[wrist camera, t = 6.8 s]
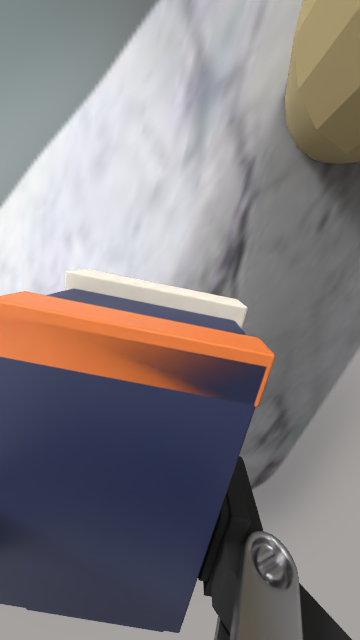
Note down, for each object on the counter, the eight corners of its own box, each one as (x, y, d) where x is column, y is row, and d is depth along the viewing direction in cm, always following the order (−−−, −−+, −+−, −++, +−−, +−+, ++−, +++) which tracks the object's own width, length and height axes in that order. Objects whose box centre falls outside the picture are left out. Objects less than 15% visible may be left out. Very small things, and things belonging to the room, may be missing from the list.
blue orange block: (85, 268, 9) (-29, 278, 4) (238, 299, 9) (295, 343, 4) (65, 512, 12) (-10, 667, 7) (175, 531, 12) (168, 695, 8)
